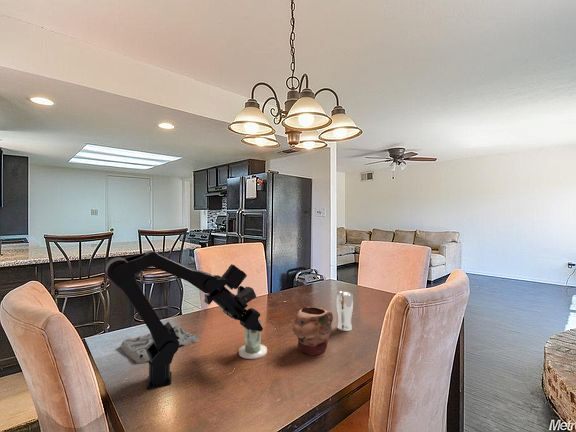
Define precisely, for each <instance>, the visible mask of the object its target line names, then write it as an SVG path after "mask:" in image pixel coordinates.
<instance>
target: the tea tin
mask: <svg viewBox="0 0 576 432" xmlns="http://www.w3.org/2000/svg"><path fill="white" fill-rule="evenodd" d="M258 321H259V323H260V324H261V325H262V322H261V321H262V320H261V319H259V318H258ZM261 332H262V331H255V330H247V329H246V328H244V345H245V352H246V353H250V354H254V353H258V352H259V351H260V344H261V341H262V340H261Z"/></svg>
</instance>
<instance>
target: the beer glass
mask: <svg viewBox="0 0 576 432" xmlns="http://www.w3.org/2000/svg"><path fill="white" fill-rule="evenodd" d="M353 297H354V295H353V292H351V291H344V290H343V291H337V292H336V310H337V316H338V317H337V318H338V322H337V329H338V330H339V331H342V332H350V331H352V329H353V325H352V315H353V310H354V309H353V308H354V298H353Z"/></svg>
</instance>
